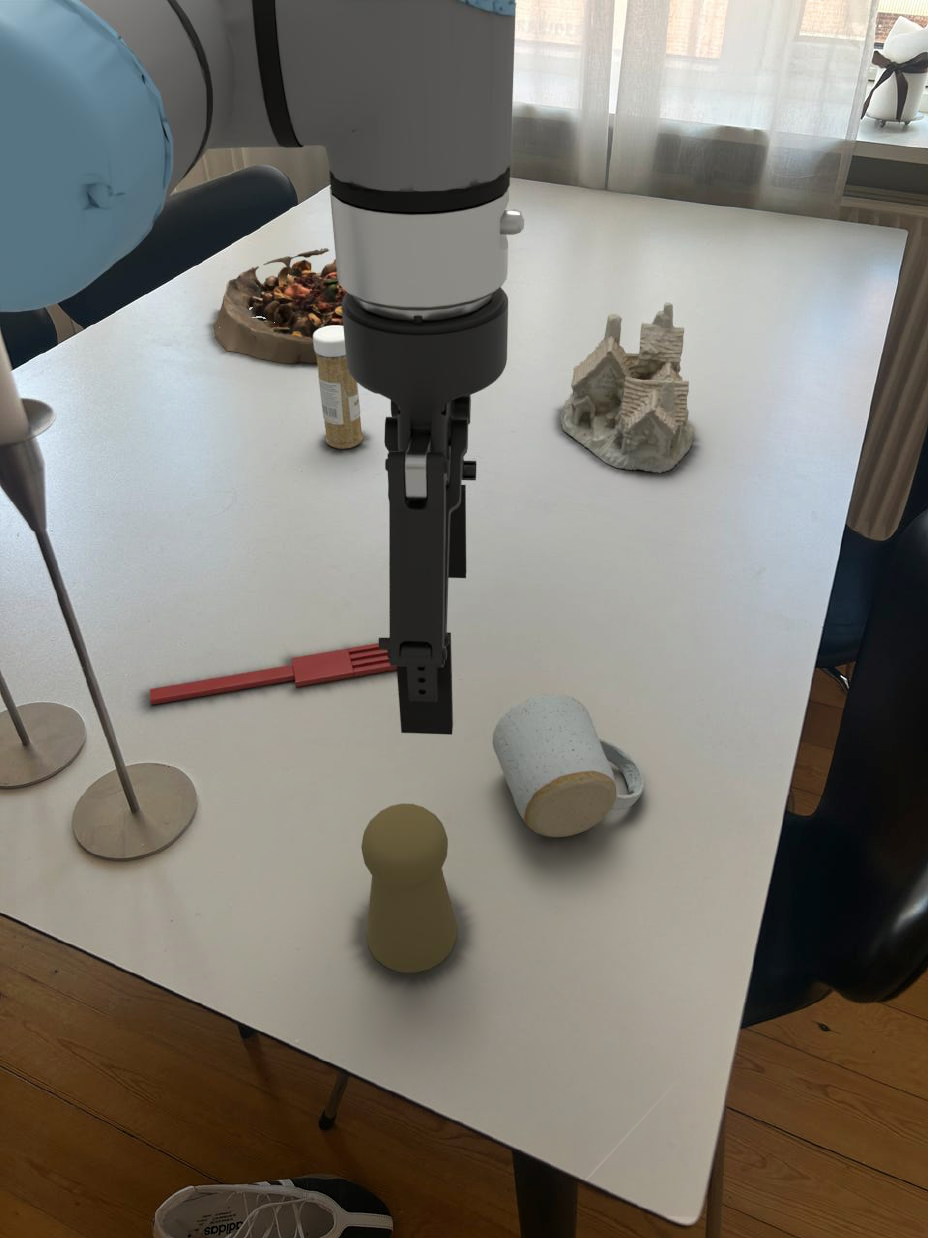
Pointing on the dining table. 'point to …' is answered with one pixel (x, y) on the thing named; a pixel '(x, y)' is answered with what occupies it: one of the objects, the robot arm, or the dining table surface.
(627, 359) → the ceramic cottage
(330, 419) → the sprinkles bottle
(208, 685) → the fork
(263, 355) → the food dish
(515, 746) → the ceramic mug
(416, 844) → the tan peg doll
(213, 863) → the dining table surface
